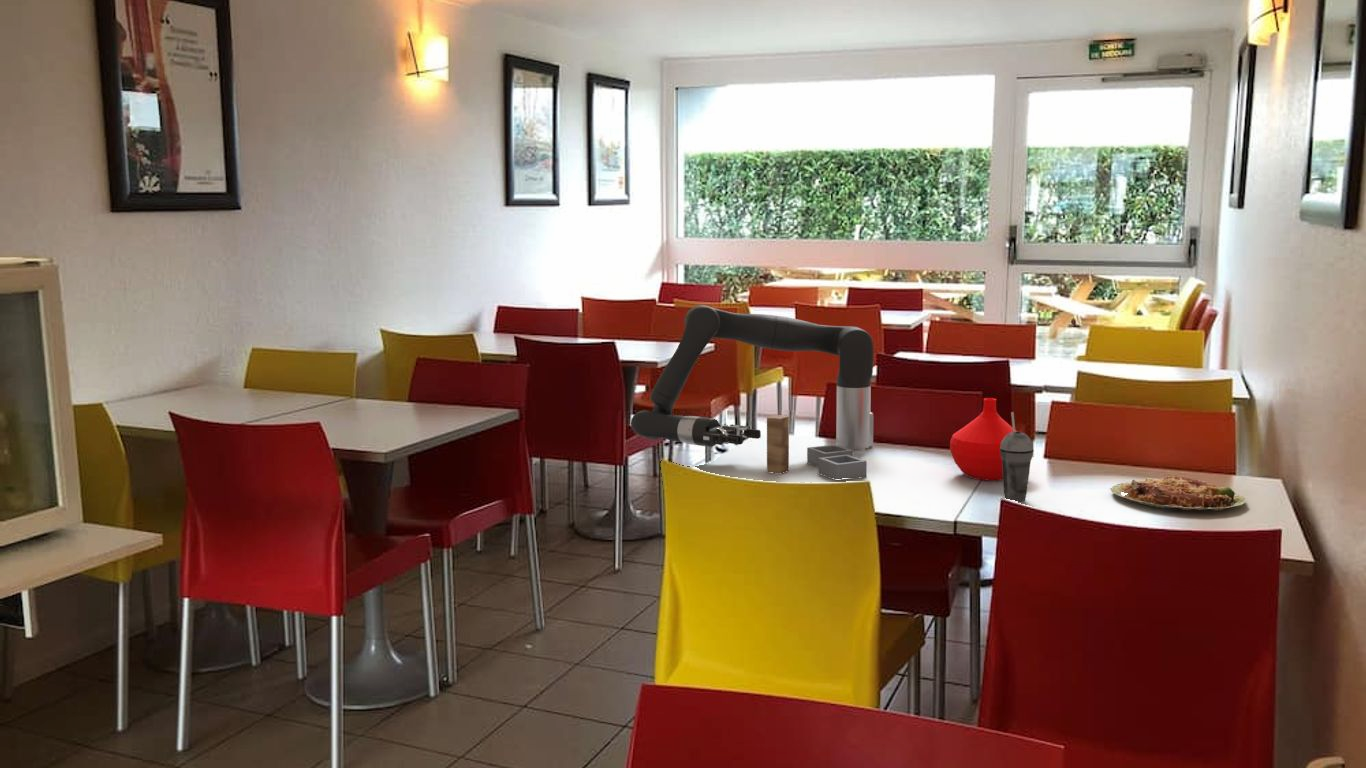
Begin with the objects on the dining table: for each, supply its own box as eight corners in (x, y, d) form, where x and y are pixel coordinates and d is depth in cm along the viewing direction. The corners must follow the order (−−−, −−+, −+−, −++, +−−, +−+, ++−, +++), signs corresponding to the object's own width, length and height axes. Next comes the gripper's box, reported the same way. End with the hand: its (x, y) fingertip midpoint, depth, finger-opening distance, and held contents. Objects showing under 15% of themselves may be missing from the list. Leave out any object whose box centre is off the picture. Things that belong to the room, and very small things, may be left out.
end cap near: (847, 470, 278) (847, 454, 278) (866, 477, 270) (866, 461, 270) (818, 473, 275) (818, 458, 274) (837, 480, 267) (837, 464, 266)
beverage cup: (1036, 504, 243) (1039, 415, 240) (1002, 504, 244) (1005, 415, 241) (1026, 496, 251) (1029, 409, 248) (994, 496, 251) (997, 409, 248)
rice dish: (1133, 484, 266) (1133, 462, 265) (1259, 497, 248) (1260, 473, 247) (1092, 509, 244) (1092, 485, 243) (1228, 524, 227) (1228, 499, 226)
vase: (1030, 486, 259) (1033, 406, 257) (950, 483, 263) (952, 404, 260) (1022, 469, 277) (1025, 393, 274) (948, 466, 281) (949, 392, 278)
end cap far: (834, 459, 291) (835, 444, 290) (852, 465, 283) (853, 450, 282) (807, 462, 287) (807, 447, 286) (824, 469, 279) (824, 453, 279)
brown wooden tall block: (775, 469, 280) (775, 414, 278) (788, 471, 278) (788, 416, 276) (766, 472, 277) (766, 417, 275) (780, 474, 275) (780, 418, 273)
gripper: (682, 421, 284) (736, 427, 275) (713, 412, 295) (765, 418, 286) (683, 449, 285) (736, 456, 276) (714, 440, 296) (765, 446, 287)
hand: (751, 437), depth 281 cm, fingers open, 8 cm apart
